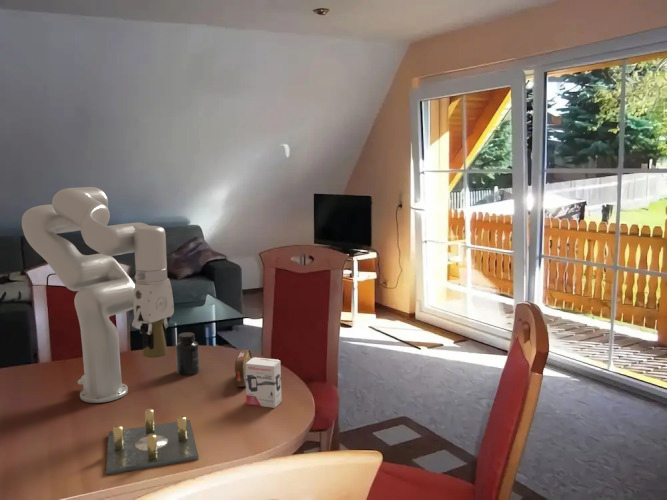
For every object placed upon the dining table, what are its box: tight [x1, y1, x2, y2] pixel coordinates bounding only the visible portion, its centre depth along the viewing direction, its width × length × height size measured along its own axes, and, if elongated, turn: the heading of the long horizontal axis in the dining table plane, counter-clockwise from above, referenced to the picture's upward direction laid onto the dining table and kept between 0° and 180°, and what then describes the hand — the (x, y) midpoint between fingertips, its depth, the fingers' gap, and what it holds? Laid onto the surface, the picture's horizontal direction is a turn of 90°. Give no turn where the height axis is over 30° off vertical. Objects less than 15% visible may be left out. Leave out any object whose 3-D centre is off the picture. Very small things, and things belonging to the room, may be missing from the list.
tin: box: [234, 349, 253, 388], centre depth 178 cm, size 15×3×8 cm, turn 179°
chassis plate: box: [105, 408, 199, 476], centre depth 139 cm, size 19×19×6 cm
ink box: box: [245, 356, 282, 409], centre depth 162 cm, size 8×5×12 cm, turn 73°
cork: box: [142, 319, 168, 359], centre depth 154 cm, size 6×6×11 cm
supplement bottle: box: [175, 331, 200, 377], centre depth 186 cm, size 7×7×12 cm
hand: (154, 344), depth 155 cm, fingers closed on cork, 4 cm apart
